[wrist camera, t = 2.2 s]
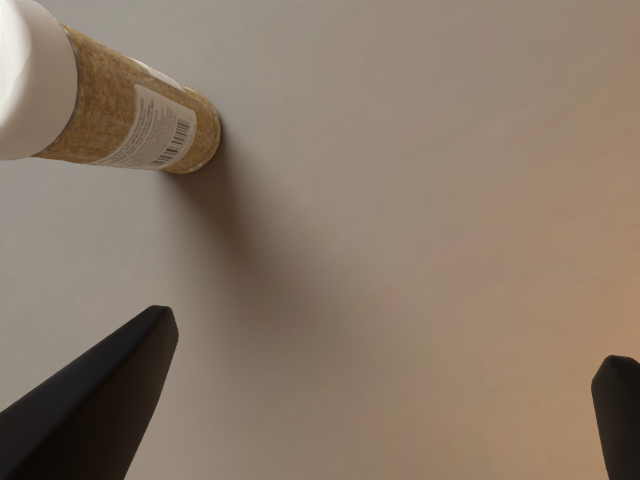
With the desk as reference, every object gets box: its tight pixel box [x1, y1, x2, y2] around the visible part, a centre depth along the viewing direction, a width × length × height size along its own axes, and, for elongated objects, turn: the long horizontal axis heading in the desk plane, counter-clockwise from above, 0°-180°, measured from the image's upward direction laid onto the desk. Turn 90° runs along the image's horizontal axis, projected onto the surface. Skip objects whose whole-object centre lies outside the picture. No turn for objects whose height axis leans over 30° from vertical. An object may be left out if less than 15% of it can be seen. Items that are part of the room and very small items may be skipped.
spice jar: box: [0, 0, 221, 174], centre depth 17 cm, size 5×5×13 cm
